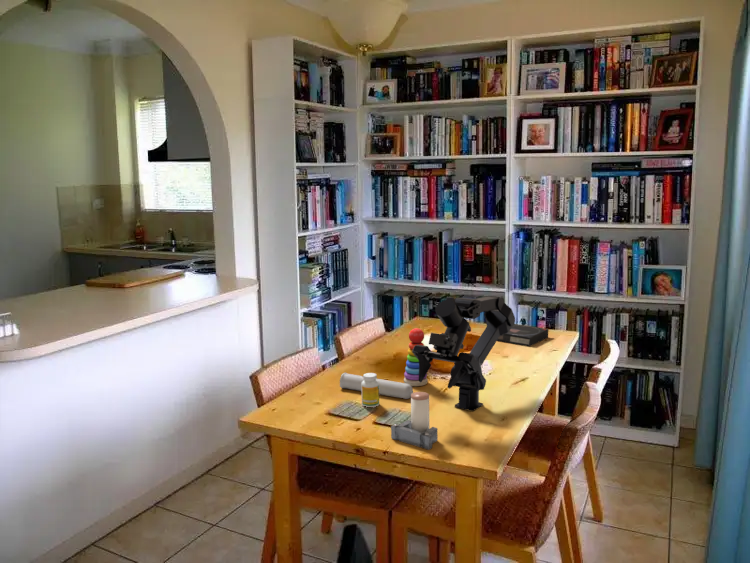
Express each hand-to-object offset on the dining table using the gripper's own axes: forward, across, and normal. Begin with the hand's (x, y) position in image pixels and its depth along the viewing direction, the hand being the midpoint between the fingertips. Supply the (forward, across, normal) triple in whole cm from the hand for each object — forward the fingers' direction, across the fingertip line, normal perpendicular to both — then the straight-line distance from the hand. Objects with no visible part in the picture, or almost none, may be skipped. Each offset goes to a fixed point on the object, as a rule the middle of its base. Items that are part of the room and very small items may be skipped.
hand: (433, 384), depth 178 cm
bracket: (+15, 0, +3) cm, 16 cm away
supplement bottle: (+6, -26, +13) cm, 29 cm away
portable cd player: (-60, -18, +78) cm, 100 cm away
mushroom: (+14, 0, +4) cm, 15 cm away
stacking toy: (-11, -25, +30) cm, 40 cm away
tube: (-1, -30, +20) cm, 36 cm away
